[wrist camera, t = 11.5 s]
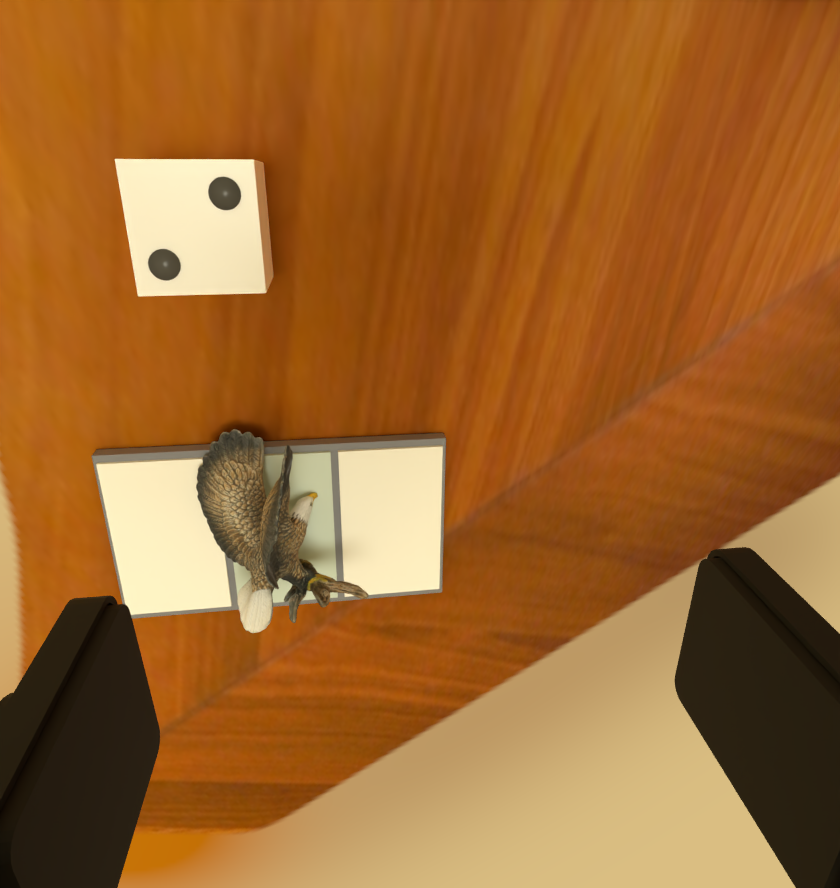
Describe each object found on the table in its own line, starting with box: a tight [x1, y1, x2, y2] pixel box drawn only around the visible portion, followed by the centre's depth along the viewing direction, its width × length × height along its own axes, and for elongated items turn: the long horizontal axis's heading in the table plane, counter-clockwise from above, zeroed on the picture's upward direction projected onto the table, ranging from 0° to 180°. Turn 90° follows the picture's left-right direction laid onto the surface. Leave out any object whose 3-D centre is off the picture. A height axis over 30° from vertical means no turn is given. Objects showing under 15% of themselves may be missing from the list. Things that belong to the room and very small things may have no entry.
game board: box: [92, 433, 446, 618], centre depth 35 cm, size 18×10×1 cm, turn 89°
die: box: [115, 159, 273, 296], centre depth 27 cm, size 5×5×5 cm
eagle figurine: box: [196, 429, 368, 633], centre depth 31 cm, size 8×7×9 cm
